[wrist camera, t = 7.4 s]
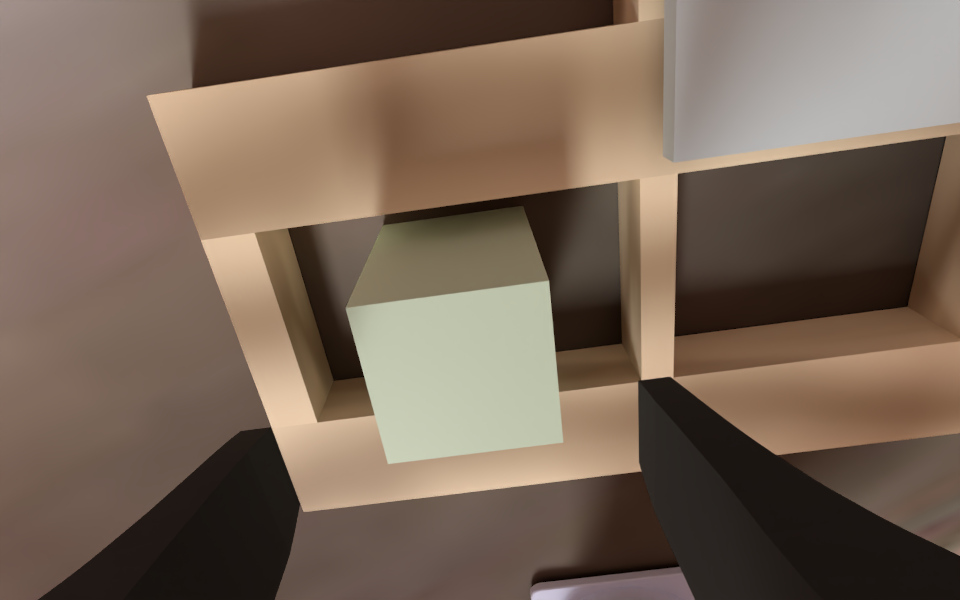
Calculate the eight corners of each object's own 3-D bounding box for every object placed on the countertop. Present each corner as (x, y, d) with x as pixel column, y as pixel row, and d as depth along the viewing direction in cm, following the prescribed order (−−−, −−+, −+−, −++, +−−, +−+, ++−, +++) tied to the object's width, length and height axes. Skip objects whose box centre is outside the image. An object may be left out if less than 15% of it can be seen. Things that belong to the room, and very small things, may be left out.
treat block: (535, 328, 19) (563, 442, 14) (409, 345, 19) (388, 463, 14) (522, 205, 17) (549, 280, 12) (383, 225, 17) (345, 308, 12)
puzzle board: (927, 389, 21) (981, 430, 18) (320, 464, 21) (303, 512, 19) (1101, -265, 13) (1234, -329, 10) (125, -104, 13) (60, -132, 11)
